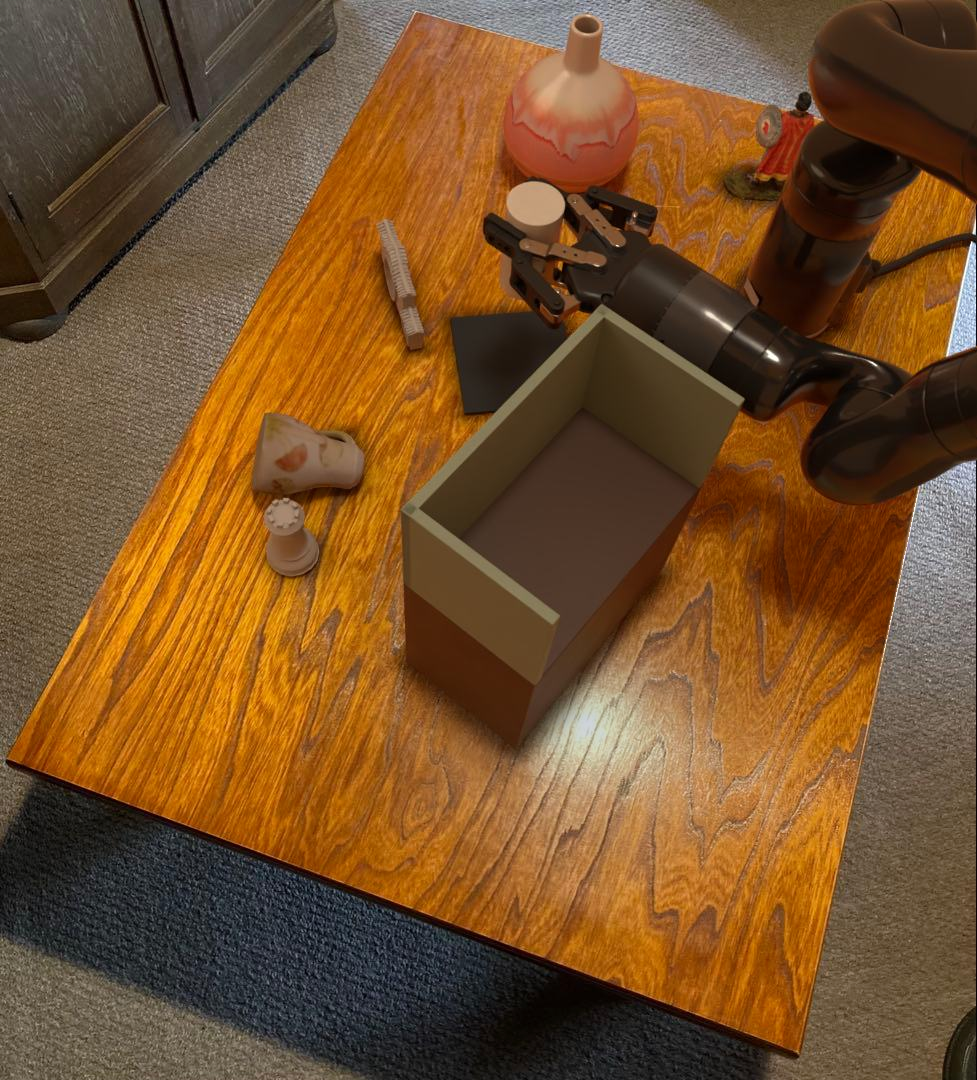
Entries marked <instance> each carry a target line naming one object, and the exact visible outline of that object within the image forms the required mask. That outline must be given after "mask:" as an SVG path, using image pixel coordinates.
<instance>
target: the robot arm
mask: <svg viewBox="0 0 977 1080" xmlns="http://www.w3.org/2000/svg"><path fill="white" fill-rule="evenodd" d="M807 77H808V86H809V89H810V95H811V98H812V99H813V100H812V101H813V102H814V105H815V107H816V109H817V110H818V112H819V114H820V116H821V117H822V118H823V120H821V121H820V122H819V121H818V123H816V124H814V127H813V128H812V129H811V130H810V131H809V132H808V133H807V134H806V136H805V137H804V139H803V141H802V143H801V145H800V147H799V149H798V152H797V154H796V157H795V159H794V161H793V164H792V166H791V169H790V171H789V174H788V176H787V178H786V181H785V183H784V186H783V188H782V191H781V193H780V196H779V198H778V199H777V200H776V203H775V205H774V208H773V210H772V213H771V215H770V218H769V220H768V222H767V225H766V228H765V230H764V232H763V235H762V236H761V240H760V241H759V244H758V247H757V249H756V252H755V253H754V256H753V259H752V261H751V264H750V266H749V269H748V271H747V274H746V276H745V278H744V279H743V281H742V283H741V285H740V288H739V291H738V290H737V289H736V288H734V287H732V286H731V285H729V284H727V283H726V282H725V281H723V280H721V279H719V278H718V277H717V276H715V275H713V274H711V273H710V272H708V271H707V270H706V269H704V268H702V267H700V266H698V265H697V264H695V263H694V262H693V261H691V260H689V259H688V258H686V257H684V256H682V255H681V254H679V253H678V252H676V251H675V250H673V249H672V248H670V247H668V246H667V245H665V244H663V243H654V244H653V243H652V242H651V241H650V239H649V238H651V237H652V236H653V233H654V230H655V229H654V228H655V226H656V221H657V218H658V214H659V210H658V208H657V207H656V206H655V205H652V204H649V203H646V202H644V201H642V200H641V201H640V200H639V199H635V198H633V197H630V196H627V195H625V194H621V193H618V192H615V191H613V190H610V189H607V188H604V187H602V186H600V187H599V186H596V185H592V186H590V187H588V189H587V191H586V192H582V193H580V194H579V193H567V192H565V191H564V190H562V189H560V188H559V187H557V186H555V185H554V184H552V183H551V182H549V181H548V180H546V179H543V178H536V177H535V176H530V177H529V178H527V179H526V180H525V181H524V183H525V182H542V183H546V184H549V185H551V186H553V187H554V188H556V189H557V190H558V191H559V192H560V193H561V195H562V196H563V198H564V201H565V211H564V217H563V223H564V224H565V226H566V227H567V228H568V229H569V231H570V232H571V233H572V234H573V235H574V236H575V239H576V241H577V242H575V243H574V244H571V245H570V246H569V245H566V244H563V243H560V242H559V243H556V242H555V243H552V244H551V245H548V244H545V243H542V242H539V241H535V240H532V239H529V238H526V234H525V233H524V232H522V231H521V230H519V229H517V228H516V227H514V226H513V225H511V224H510V223H508V222H507V221H505V218H502V217H501V216H499V215H497V214H496V213H494V212H489V213H488V214H487V215H486V216H484V217H483V221H482V234H483V235H484V240H485V241H486V243H487V244H488V245H490V246H491V247H493V248H494V249H496V250H498V251H499V252H500V253H503V254H505V255H506V256H508V257H509V258H511V259H512V261H511V275H510V280H509V284H510V286H511V287H512V288H513V289H514V290H515V291H516V292H517V293H518V295H519V296H520V297H521V298H522V299H523V300H524V301H523V300H522V301H523V302H524V303H525V304H526V305H528V307H529V308H530V309H531V311H534V312H535V313H536V315H537V316H538V317H539V318H540V319H541V320H542V321H543V322H544V323H545V325H546V326H547V327H548V328H550V329H554V330H555V329H558V328H560V327H561V324H562V320H563V319H564V320H565V318H567V317H569V316H571V315H572V314H575V313H576V312H580V313H583V314H587V315H588V314H589V315H591V314H592V313H593V312H594V311H595V310H596V309H597V308H598V307H599V306H600V305H601V304H603V305H604V306H606V307H607V308H609V309H610V310H612V311H613V312H615V313H616V314H618V315H619V316H621V317H622V318H624V319H625V320H627V321H628V322H630V323H631V324H633V325H634V326H636V327H637V328H639V329H640V330H642V331H643V332H645V333H646V334H648V335H649V336H651V337H652V338H654V339H655V340H657V341H658V342H660V343H662V344H663V345H665V346H666V347H668V348H669V349H671V350H672V351H674V352H675V353H677V354H678V355H680V356H681V357H683V358H684V359H686V360H687V361H689V362H690V363H692V364H693V365H695V366H696V367H698V368H699V369H701V370H702V371H704V372H705V373H707V374H708V375H710V376H711V377H713V378H714V379H716V380H717V381H719V382H720V383H722V384H723V385H725V386H726V387H728V388H729V389H731V390H732V391H734V392H735V393H737V394H738V395H740V396H742V397H743V398H745V400H744V402H743V404H742V406H741V408H740V410H739V413H742V414H743V415H745V416H747V417H749V418H750V419H752V420H754V421H757V422H761V423H767V422H770V421H773V420H775V419H776V418H778V417H780V416H781V415H783V414H784V413H785V412H786V411H788V410H789V409H791V408H793V407H794V406H796V405H799V404H811V405H815V406H819V407H823V408H825V409H826V408H827V409H826V410H824V412H823V414H822V415H821V416H820V417H819V418H818V419H817V420H816V421H815V423H814V425H813V426H812V427H811V428H810V429H809V431H808V432H807V434H806V436H805V438H804V440H803V442H802V446H801V448H800V452H799V462H800V468H801V472H802V474H803V476H804V478H805V480H806V482H807V483H808V485H810V487H811V488H812V489H813V490H814V491H815V492H817V493H818V494H819V495H820V496H822V497H824V498H825V499H826V500H829V501H831V502H834V503H837V504H841V505H846V506H853V507H855V506H857V507H863V506H864V507H865V506H872V505H877V504H882V503H884V502H887V501H890V500H893V499H896V498H898V497H900V496H902V495H904V494H906V493H909V492H911V491H912V490H915V489H916V488H919V487H920V486H922V485H924V484H927V483H929V482H931V481H934V480H935V479H937V478H938V477H940V476H941V475H943V474H945V473H947V472H949V471H950V470H952V469H953V468H956V467H957V466H960V465H963V464H964V463H965V464H966V463H969V462H975V461H977V345H975V346H972V347H969V348H967V349H964V350H961V351H959V352H956V353H953V354H950V355H948V356H945V357H942V358H939V359H937V360H935V361H932V362H930V363H929V364H927V365H925V366H924V367H922V368H920V369H919V370H918V371H917V372H915V373H914V374H912V373H910V372H909V371H907V370H906V369H904V368H902V367H900V366H899V365H896V364H894V363H891V362H888V361H887V360H886V361H885V360H883V359H879V358H876V357H873V356H870V355H866V354H863V353H859V352H857V351H853V350H850V349H847V348H843V347H841V346H839V345H834V344H831V343H829V342H824V341H820V340H817V339H815V338H817V337H819V336H820V335H821V334H823V332H825V330H826V329H827V328H830V327H836V326H837V325H838V324H839V322H840V320H841V318H842V317H843V315H844V313H845V311H846V309H847V307H848V305H849V304H850V302H851V300H852V298H853V296H854V295H855V294H856V295H857V294H863V293H864V291H865V289H866V288H867V286H868V284H869V282H870V280H871V279H872V278H876V277H879V276H881V275H884V274H886V273H889V272H891V271H893V270H896V269H897V268H899V267H902V266H905V265H906V264H909V263H910V262H912V261H914V260H916V259H917V258H919V257H921V256H923V255H926V254H928V253H931V252H934V251H937V250H939V249H942V248H945V247H947V246H950V245H954V244H958V243H961V242H972V243H973V244H975V245H977V234H975V233H971V232H965V233H960V234H959V233H958V234H955V235H951V236H949V237H945V238H943V239H939V240H937V241H934V242H931V243H928V244H926V245H925V244H924V246H921V247H919V248H917V249H915V250H913V251H912V252H909V253H908V254H906V255H904V256H901V257H900V258H896V259H895V260H893V261H891V262H888V263H886V264H884V265H882V263H881V261H879V260H878V259H876V258H875V259H874V258H872V256H871V254H870V251H869V250H870V247H871V246H872V244H873V243H874V240H875V238H876V237H877V235H878V233H879V231H880V229H881V227H882V225H883V224H884V222H885V220H886V218H887V216H888V214H889V212H890V210H891V208H892V207H893V205H894V204H895V201H896V200H897V198H898V196H899V195H900V193H902V192H903V191H904V190H906V189H908V187H910V186H911V185H912V184H913V183H914V182H915V181H916V180H917V179H918V177H920V175H921V174H922V172H924V173H926V174H927V175H929V176H930V177H932V178H934V179H935V180H938V181H939V182H941V183H942V184H944V185H946V186H948V187H949V188H951V189H953V190H955V191H957V192H958V193H960V194H961V195H963V196H964V197H965V198H967V199H968V200H969V201H970V202H971V203H974V205H976V206H977V19H976V17H975V15H974V13H973V11H972V10H971V8H969V7H968V5H967V4H966V3H964V2H963V1H961V0H872V1H865V2H860V3H856V4H852V5H850V6H848V7H845V8H844V9H841V10H839V11H838V12H836V13H834V15H832V16H831V17H830V18H829V19H828V20H827V21H826V23H824V24H823V26H822V27H821V28H820V29H819V31H818V33H817V35H816V37H815V39H814V41H813V43H812V46H811V49H810V53H809V57H808V64H807ZM601 205H604V206H601ZM605 206H606V207H605ZM607 207H608V208H607ZM609 208H611V209H609ZM533 257H536V258H539V259H542V260H544V261H542V260H539V259H535V258H533ZM559 262H561V263H562V266H561V269H560V268H559ZM550 284H551V285H552V287H551V285H550ZM554 287H555V288H554ZM562 289H564V290H567V292H568V294H566V293H564V292H563V291H562Z"/></svg>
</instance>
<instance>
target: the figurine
mask: <svg viewBox="0 0 977 1080" xmlns="http://www.w3.org/2000/svg"><path fill="white" fill-rule="evenodd" d="M812 102H813V100H812V94H811V93H810V92H808V91H801V92H799V94H798V96H797V100H796V103H795V104H794V105H793V106H794V108H795V109H791V110H787V111H785V112H784V113H782V110H781V109H780V107H779V106H777V105H776V104H767V105H766V106H765V107H764V108H763V109H762V110H761V112H760V113H759V115H758V118H757V120H756V124H755V125H756V126H755V138H756V139H755V141H756V142H757V143H758V145H759V146H760V147H762V148H764V149H765V150H764V151H763V153H762V155H761V159H760V163H759V164H758V167H757V168H756V170H754V169H739V170H735V171H732V172H731V171H730V172H726V174H725V176H724V182H723V183H724V185H725V187H726V189H727V191H728V192H730V194H731V195H732V196H733V197H735V196H736V197H737V198H739V199H741V200H745V199H748V200H751V199H754V200H756V201H758V200H760V201H763V200H766V201H768V202H769V201H771V202H773V201H778V198H779V196H780V193H781V191H782V188H783V186H784V183H785V181H786V178H787V176H788V174H789V171H790V169H791V166H792V164H793V161H794V159H795V157H796V154H797V152H798V149H799V147H800V145H801V143H802V141H803V139H804V137H805V136H806V134H807V133H808V132H809V131H810V130H811V129H812V128H813V127H814V126H815V117H814V114H813V113H809V112H808V110H809V109H810V107H811V106H812Z"/></svg>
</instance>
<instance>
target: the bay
mask: <svg viewBox="0 0 977 1080" xmlns="http://www.w3.org/2000/svg"><path fill="white" fill-rule="evenodd" d="M744 400H745V398H743V397H742V396H740V395H738V394H737V393H735V392H734V391H732V390H731V389H729V388H728V387H726V386H725V385H723V384H722V383H720V382H719V381H717V380H716V379H714V378H713V377H711V376H710V375H708V374H707V373H705V372H704V371H702V370H701V369H699V368H698V367H696V366H695V365H693V364H692V363H690V362H689V361H687V360H686V359H684V358H683V357H681V356H680V355H678V354H677V353H675V352H674V351H672V350H671V349H669V348H668V347H666V346H665V345H663V344H662V343H660V342H658V341H657V340H655V339H654V338H652V337H651V336H649V335H648V334H646V333H645V332H643V331H642V330H640V329H639V328H637V327H636V326H634V325H633V324H631V323H630V322H628V321H627V320H625V319H624V318H622V317H621V316H619V315H618V314H616V313H615V312H613V311H612V310H610V309H609V308H607V307H606V306H604V305H603V304H601V305H600V306H599V307H598V308H597V309H596V310H595V311H594V312H593V313H592V314H589V316H588V317H587V318H586V319H585V320H584V321H583V322H582V323H581V325H579V326H578V327H577V329H576V330H575V331H573V333H572V334H571V335H569V337H568V339H567V340H566V341H565V342H564V343H563V344H562V345H561V346H560V347H559V348H558V349H557V350H556V351H555V352H554V353H553V354H552V355H551V356H550V357H549V358H548V359H547V360H546V361H545V362H544V363H543V364H542V365H541V366H540V367H539V368H538V369H537V370H536V371H535V372H534V373H533V375H532V376H531V377H530V378H529V379H528V380H527V381H526V382H525V383H524V384H523V385H522V386H521V387H520V388H519V389H518V390H517V391H516V392H515V393H514V394H513V395H512V396H511V397H510V398H509V399H508V400H507V401H506V402H505V403H504V404H503V405H502V406H501V407H500V408H499V409H498V410H497V411H496V412H495V413H492V415H491V416H490V417H489V418H488V419H487V420H486V421H485V422H484V423H483V424H482V426H480V427H479V428H478V430H476V432H474V433H473V434H472V436H471V437H470V438H468V440H466V441H465V443H464V444H463V445H462V446H460V448H459V449H458V450H457V451H456V452H455V453H454V454H453V455H451V457H450V458H449V459H448V460H447V461H446V462H445V463H444V464H443V465H442V466H441V467H440V468H439V469H438V470H437V471H436V472H435V474H434V475H432V476H431V477H430V478H429V479H428V481H426V482H425V484H423V486H422V487H421V488H420V489H419V490H418V491H416V493H414V495H412V497H411V498H410V499H409V500H408V501H406V503H405V504H404V505H403V506H402V507H401V508H400V529H401V530H400V531H401V532H400V533H401V558H402V560H401V561H402V583H403V609H404V612H403V613H404V615H403V616H404V638H405V639H404V641H405V662H406V663H407V664H408V665H410V666H411V667H412V668H413V669H415V670H416V671H417V672H419V674H421V675H422V676H423V677H425V678H426V679H427V680H428V681H429V682H430V683H432V684H433V685H434V686H436V687H437V688H438V689H439V690H440V691H442V692H443V693H444V694H446V695H447V696H448V697H450V698H451V699H452V700H453V701H454V702H455V703H457V704H458V705H459V706H461V707H462V708H463V709H464V710H466V711H467V712H468V713H469V714H471V715H472V716H473V717H474V718H476V719H477V720H478V721H479V722H481V723H482V724H483V725H484V726H486V727H487V728H488V729H489V730H491V732H493V733H494V734H496V735H497V736H498V737H499V738H500V739H501V740H503V741H504V742H505V743H506V744H508V745H509V746H510V747H512V748H513V749H514V750H517V749H518V748H519V746H520V745H521V744H522V743H523V742H524V740H526V739H527V737H528V736H529V734H530V733H531V732H532V731H533V730H534V728H535V727H536V726H537V724H538V723H539V722H540V721H541V720H542V719H543V717H544V716H545V714H546V713H547V712H548V711H549V710H550V709H551V707H552V706H553V705H554V704H555V702H556V701H557V700H559V697H560V696H561V695H562V694H563V693H564V692H565V690H566V689H567V688H568V687H569V685H570V684H571V683H572V682H573V680H574V679H575V678H576V677H577V676H578V674H579V673H580V672H581V671H582V670H583V668H584V667H585V666H586V665H587V663H588V662H589V661H590V660H591V658H592V657H593V656H594V655H595V653H597V651H598V650H599V649H600V647H601V646H602V645H603V644H604V642H605V641H606V640H607V639H608V637H610V635H611V634H612V633H613V631H614V630H615V629H616V628H617V627H618V626H619V624H620V623H621V622H622V621H623V619H624V618H625V617H626V616H627V614H628V613H629V612H630V611H631V610H632V609H633V607H634V606H635V605H636V603H637V602H638V601H639V600H640V598H641V597H642V596H643V595H644V594H645V592H646V591H647V590H648V589H649V587H651V585H652V584H653V583H654V581H655V580H656V579H657V578H658V577H659V575H660V574H661V573H662V571H663V569H664V567H665V565H666V564H667V561H668V559H669V558H670V555H671V553H672V551H673V548H674V547H675V544H676V542H677V541H678V538H679V536H680V534H681V532H682V530H683V527H684V526H685V524H686V522H687V519H688V518H689V515H690V514H691V512H692V510H693V507H694V505H695V503H696V501H697V499H698V497H699V495H700V492H701V491H702V488H703V487H704V484H705V482H706V481H707V480H708V479H707V478H708V477H709V474H710V472H711V470H712V469H713V466H714V464H715V462H716V460H717V458H718V455H719V453H720V452H721V450H722V448H723V446H724V443H725V441H726V439H727V438H728V436H729V433H730V431H731V429H732V427H733V425H734V422H735V421H736V419H737V417H738V415H739V413H740V411H739V410H740V408H741V406H742V404H743V402H744Z"/></svg>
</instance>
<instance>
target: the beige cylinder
mask: <svg viewBox="0 0 977 1080" xmlns="http://www.w3.org/2000/svg"><path fill="white" fill-rule="evenodd" d="M564 211H565V201H564V198H563V196H562V195H561V193H560V192H559V191H558V190H557V189H556V188H554V187H553V186H551V185H549V184H546V183H542V182H525V181H524V182H521V183H519V184H517V185H516V186H514V187H513V188H512V189H511V190H510V191H509V193H508V194H507V197H506V201H505V213H504V220H505V221H507V222H508V223H510V224H511V225H513V226H514V227H516V228H517V229H519V230H521V231H522V232H524V233H525V234H526V238H529V239H532V240H535V241H539V242H542V243H545V244H548V245H551V244H552V243H555V242H556V243H560V242H561V235H562V230H563V223H564V218H563V217H564ZM500 253H501V254H500V266H499V278H498V280H499V284H500V287H501V288H502V290H503V291H504V292H505V293H506V294H507V295H508V296H510V297H511V298H513V299H516V300H517V301H523V302H525V301H524V300H523V299H522V298H521V297H520V296H519V295H518V293H517V292H516V291H515V290H514V289H513V288H512V287H511V286H510V284H509V280H510V275H511V261H512V259H511V258H509V257H508V256H506V255H505V254H503V253H502V252H500ZM533 258H535V259H539V258H536V257H533ZM539 260H542V259H539ZM542 261H544V260H542ZM550 285H551V284H550ZM551 287H552V288H553V285H551Z"/></svg>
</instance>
